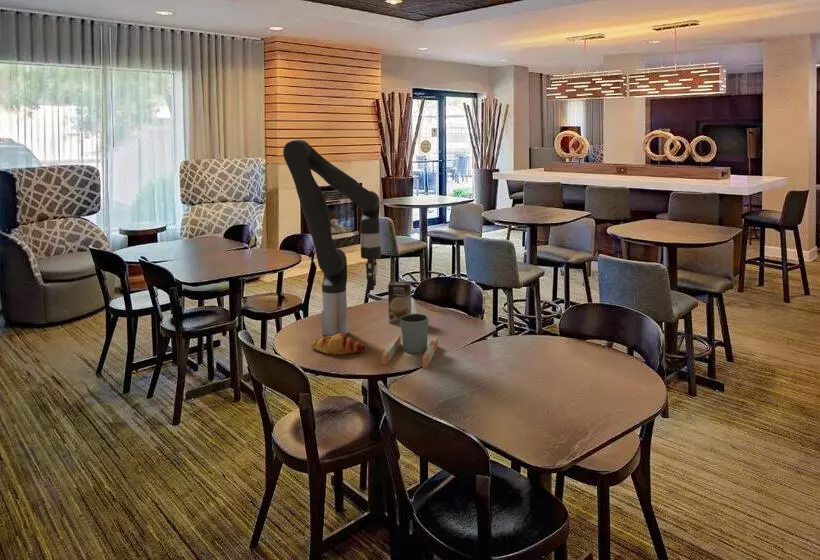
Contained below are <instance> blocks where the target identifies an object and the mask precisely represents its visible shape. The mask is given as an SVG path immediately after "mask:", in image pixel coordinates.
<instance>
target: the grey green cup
mask: <svg viewBox="0 0 820 560" xmlns="http://www.w3.org/2000/svg"><path fill="white" fill-rule="evenodd" d="M399 324H400V332H401V337H402V340H401V341H402V348H403V351H404V352H405V351H406V352H405V353H408V352H409V354H410V353H411V354H420V352H421V353H425V352H426V351H425V350H427V348H428V332H429V316H428V315H427V314H424V313H411V314H406V315H403V316H401V317H400V323H399Z"/></svg>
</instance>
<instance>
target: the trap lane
mask: <svg viewBox="0 0 820 560" xmlns="http://www.w3.org/2000/svg"><path fill="white" fill-rule="evenodd" d="M401 337H402V334H401V335H399V334H396V335H395V336H394V338H393V339H392V340H391V342H390V343H389V345H388V346H387V347H386V349H385V350H384V352H383V353H382V354H381V366H387V365H388V364H389V362H390V361H391V359H392V358H393V356H394V355H395V354H396V352H397V351H398V349H399V348H400V346H401V343H402V342H401V341H402V340H401ZM437 347H439V337H438V336H433V338H432V339H431V342H430V343H429V344H428V346H427V350H426V351H424V354H423V355H422V357H421V358H422V359H421V362H422V363H421V364H422V368H424V369H425V368H426V369H427V368H428V367H429V365H430V363H431V361H432V359H433V357H434V355H435V353H436V352H437V349H438V348H437ZM396 350H397V351H396ZM387 363H388V364H387Z"/></svg>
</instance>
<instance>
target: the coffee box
mask: <svg viewBox="0 0 820 560" xmlns="http://www.w3.org/2000/svg"><path fill="white" fill-rule="evenodd" d="M387 291H388V296H387V297H388V299H387V300H388V301H387V302H388V324H401V323H400V317H401V316H403V315H406V314H412V281H389V283H388V286H387Z"/></svg>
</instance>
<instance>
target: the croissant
mask: <svg viewBox="0 0 820 560" xmlns="http://www.w3.org/2000/svg"><path fill="white" fill-rule="evenodd" d="M310 347H311V348H313V349H314V350H316V351H317V352H321V353H325V354H327V355H336V354H338V355H346V354H347V353H349V354H347V355H351V354H356V353H360V352H362V351H364V350H365V349H366V344H364V343H362V344H361V342H359V341H357V340H356V341H355V340H354V339H353V338H352V337H348V336H347V334H346V335H345V334H342V333H340V334H336V335H334V336H325V337H323V338H317V339H315V340H312V341H311V342H310Z"/></svg>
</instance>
